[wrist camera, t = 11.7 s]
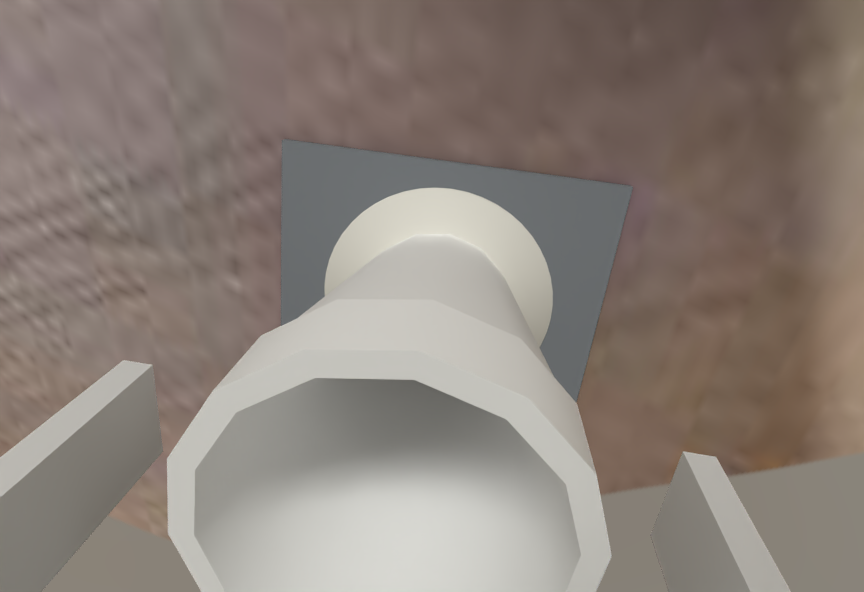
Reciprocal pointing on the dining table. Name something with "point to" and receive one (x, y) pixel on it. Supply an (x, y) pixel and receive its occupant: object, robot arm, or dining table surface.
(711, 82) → the dining table surface
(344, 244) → the mat
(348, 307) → the foam cup
